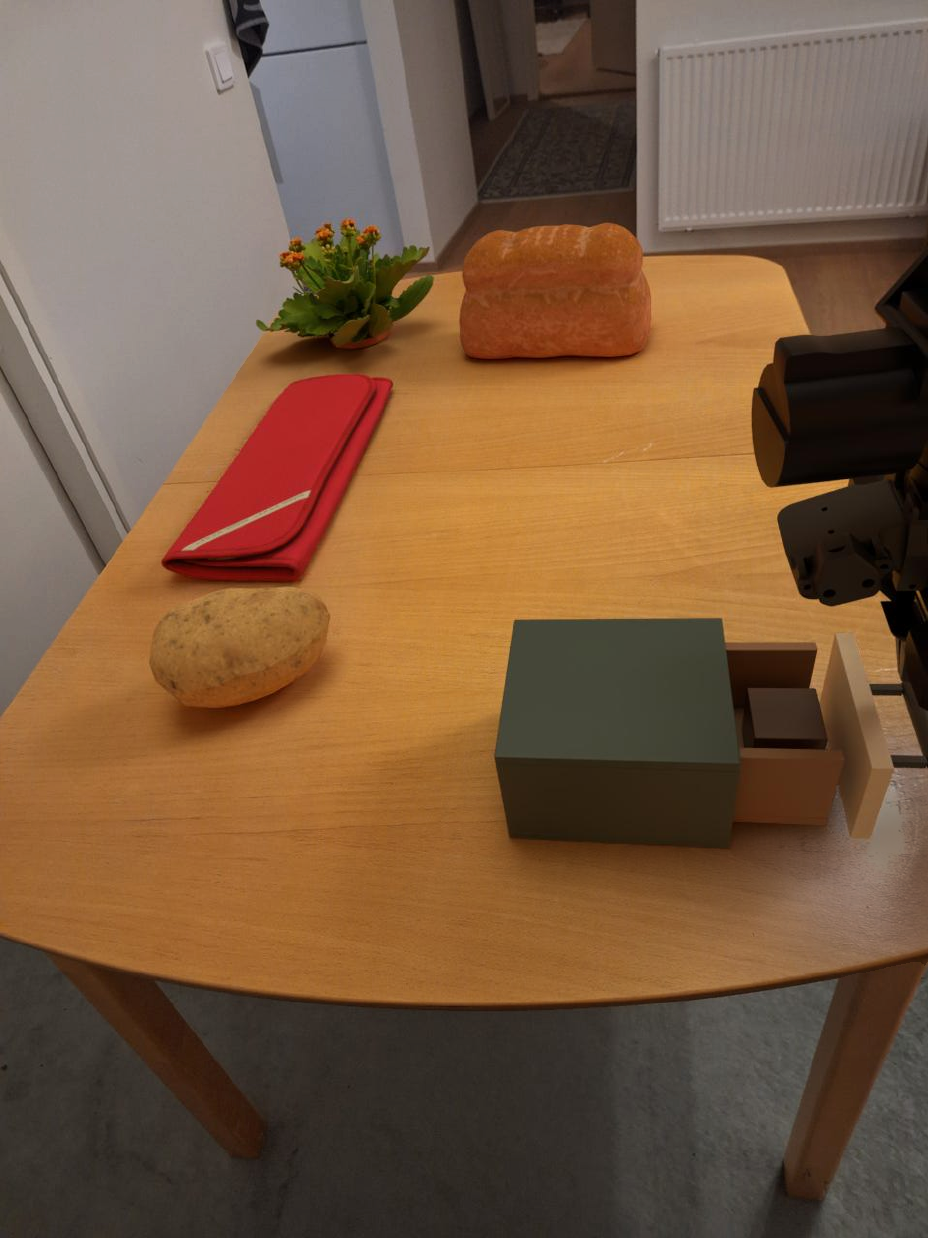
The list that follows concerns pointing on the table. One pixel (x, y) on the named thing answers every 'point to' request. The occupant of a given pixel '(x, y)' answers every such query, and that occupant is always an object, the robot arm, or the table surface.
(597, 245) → the bread
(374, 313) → the potted flower
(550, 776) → the cabinet
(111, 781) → the table surface
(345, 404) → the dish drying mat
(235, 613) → the potato
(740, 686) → the drawer
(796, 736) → the block
